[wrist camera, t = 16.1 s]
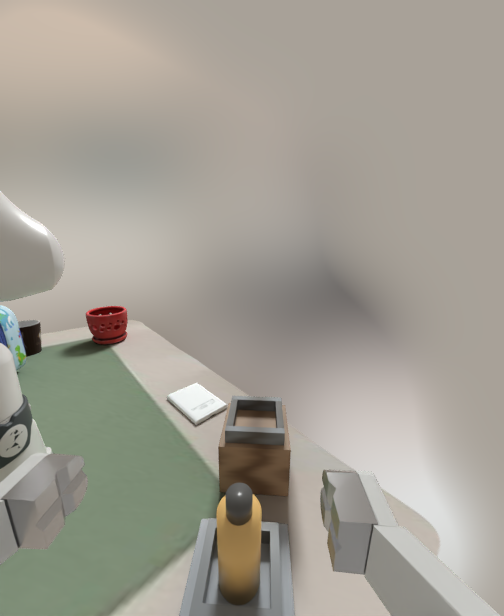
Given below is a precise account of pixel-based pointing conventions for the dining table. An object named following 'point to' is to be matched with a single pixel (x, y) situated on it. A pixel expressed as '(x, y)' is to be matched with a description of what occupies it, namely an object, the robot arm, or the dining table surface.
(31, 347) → the coffee mug
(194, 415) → the external hard drive
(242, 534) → the yellow bottle
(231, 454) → the walnut stand
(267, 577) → the low socket
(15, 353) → the lunch box
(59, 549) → the dining table surface
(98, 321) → the plant pot
